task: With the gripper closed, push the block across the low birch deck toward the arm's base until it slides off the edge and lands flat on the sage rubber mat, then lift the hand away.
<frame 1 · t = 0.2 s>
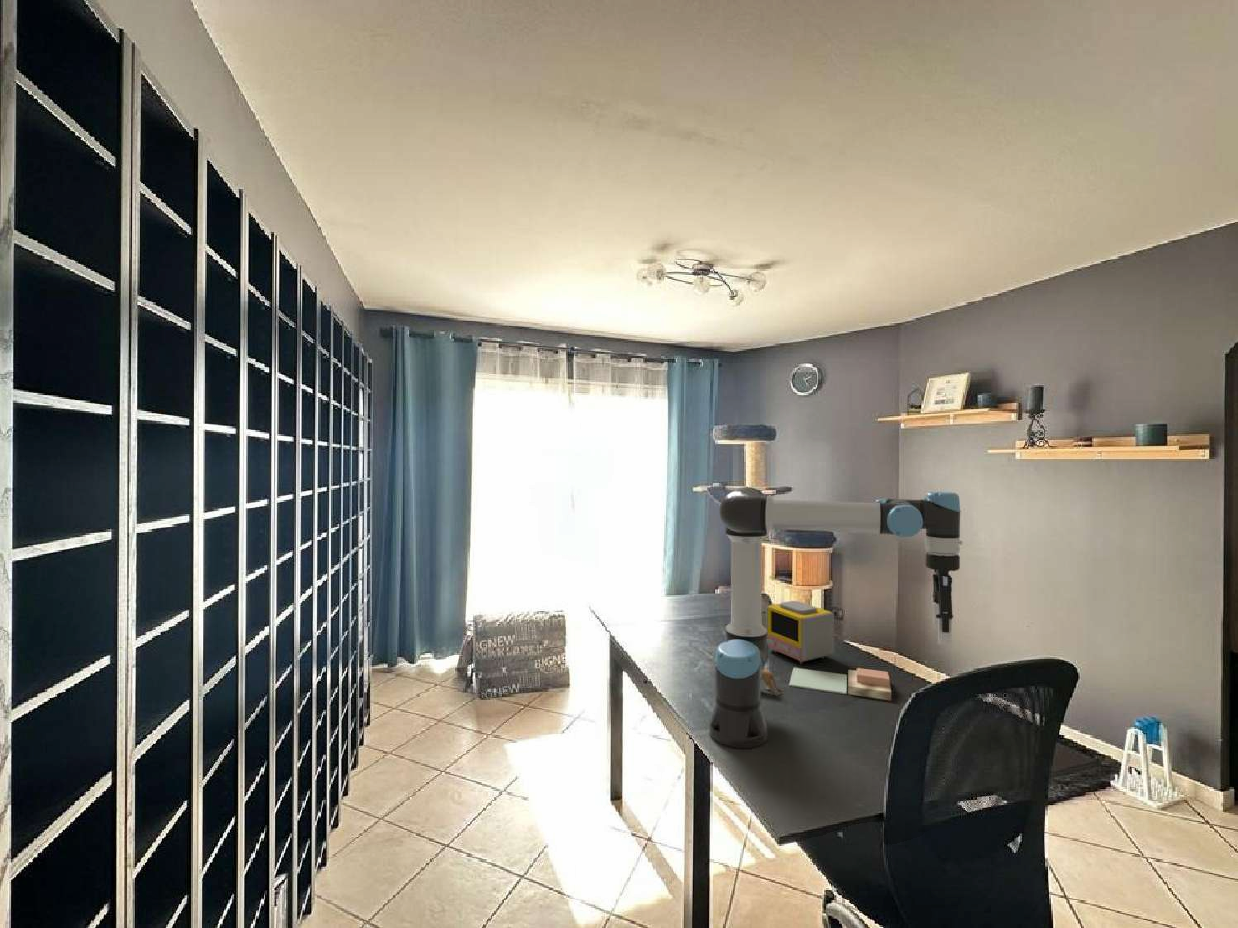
hand: (941, 636, 143), 28 cm above the table, tool pointing down, fingers open, 13 cm apart
mat: (818, 680, 184), on the table
deck: (868, 688, 178), on the table
alarm clock: (798, 655, 207), on the table
lion figurine: (756, 690, 177), on the table
block: (872, 680, 177), point 2 cm above the table, touching deck
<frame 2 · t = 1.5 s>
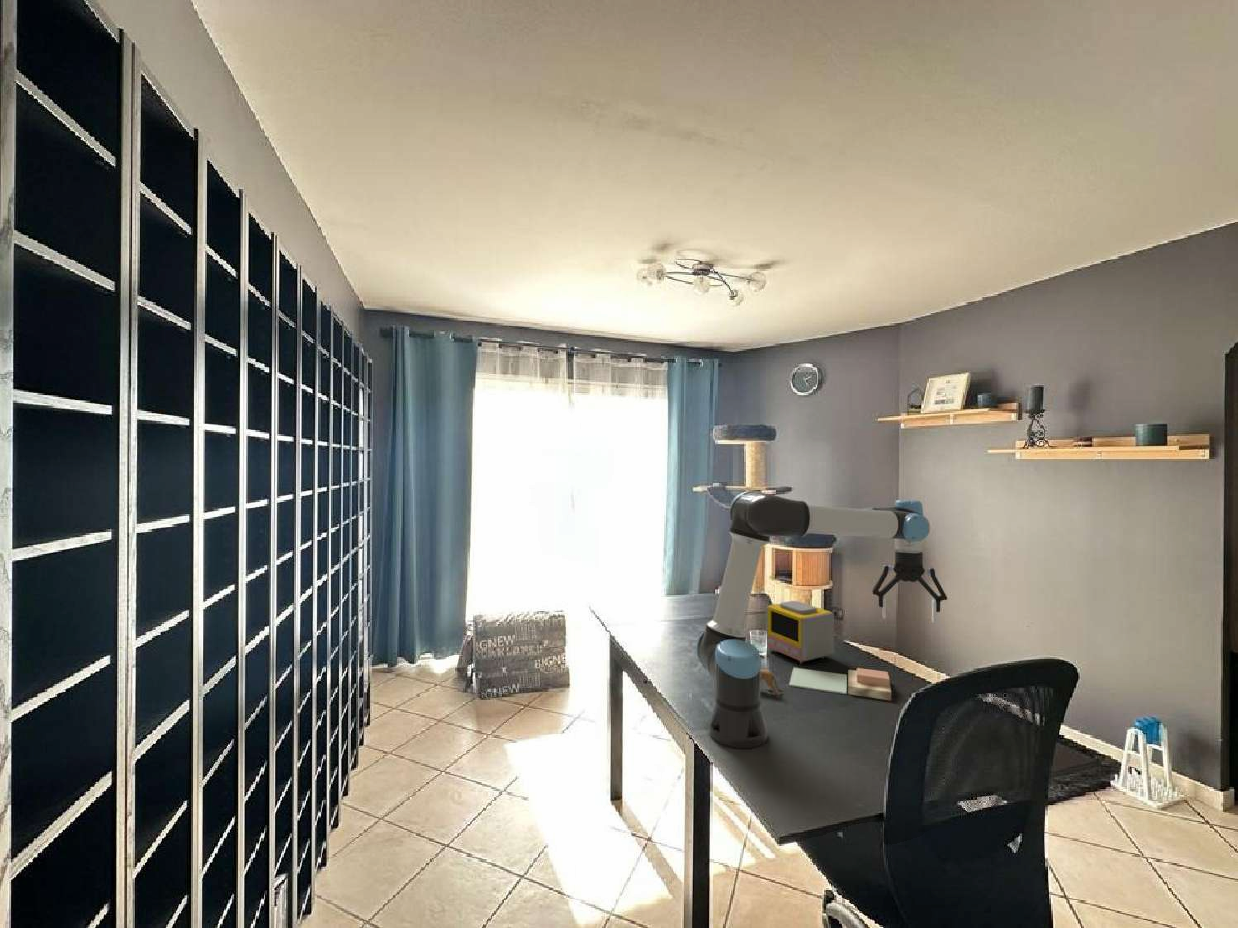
hand: (908, 619, 172), 23 cm above the table, tool pointing down, fingers open, 13 cm apart
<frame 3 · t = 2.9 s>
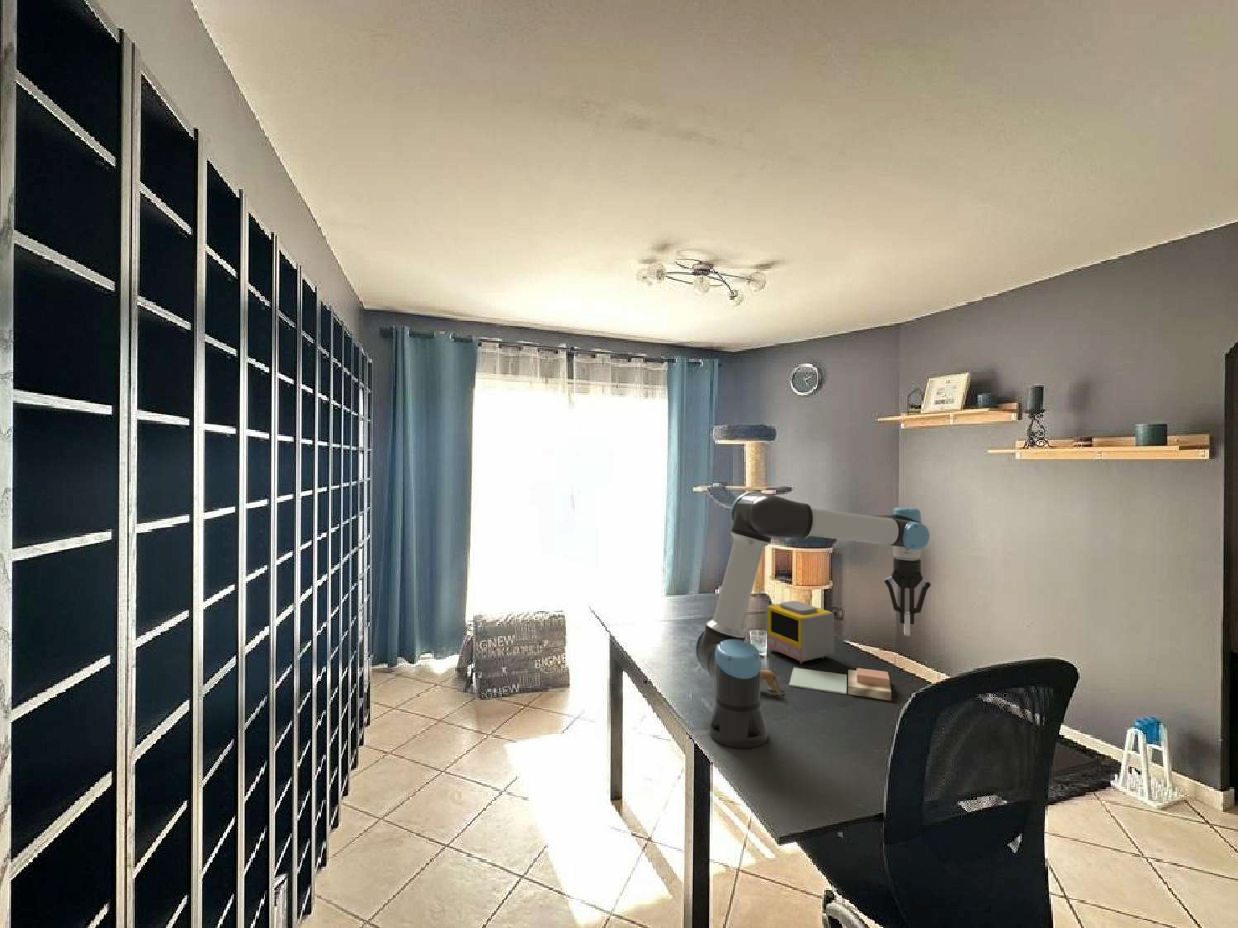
hand: (906, 633, 173), 19 cm above the table, tool pointing down, fingers closed
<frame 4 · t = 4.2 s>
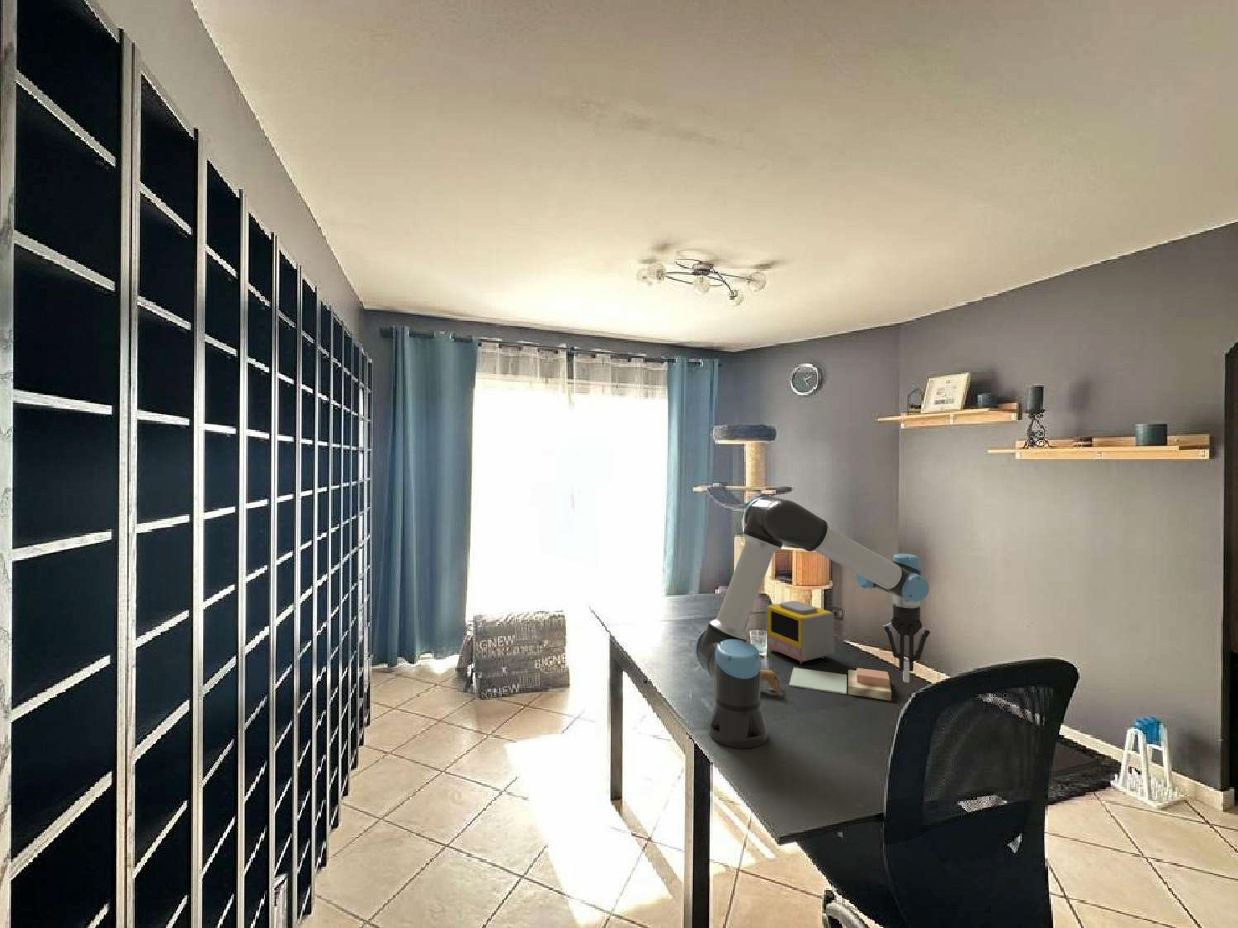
hand: (906, 680, 174), 4 cm above the table, tool pointing down, fingers closed
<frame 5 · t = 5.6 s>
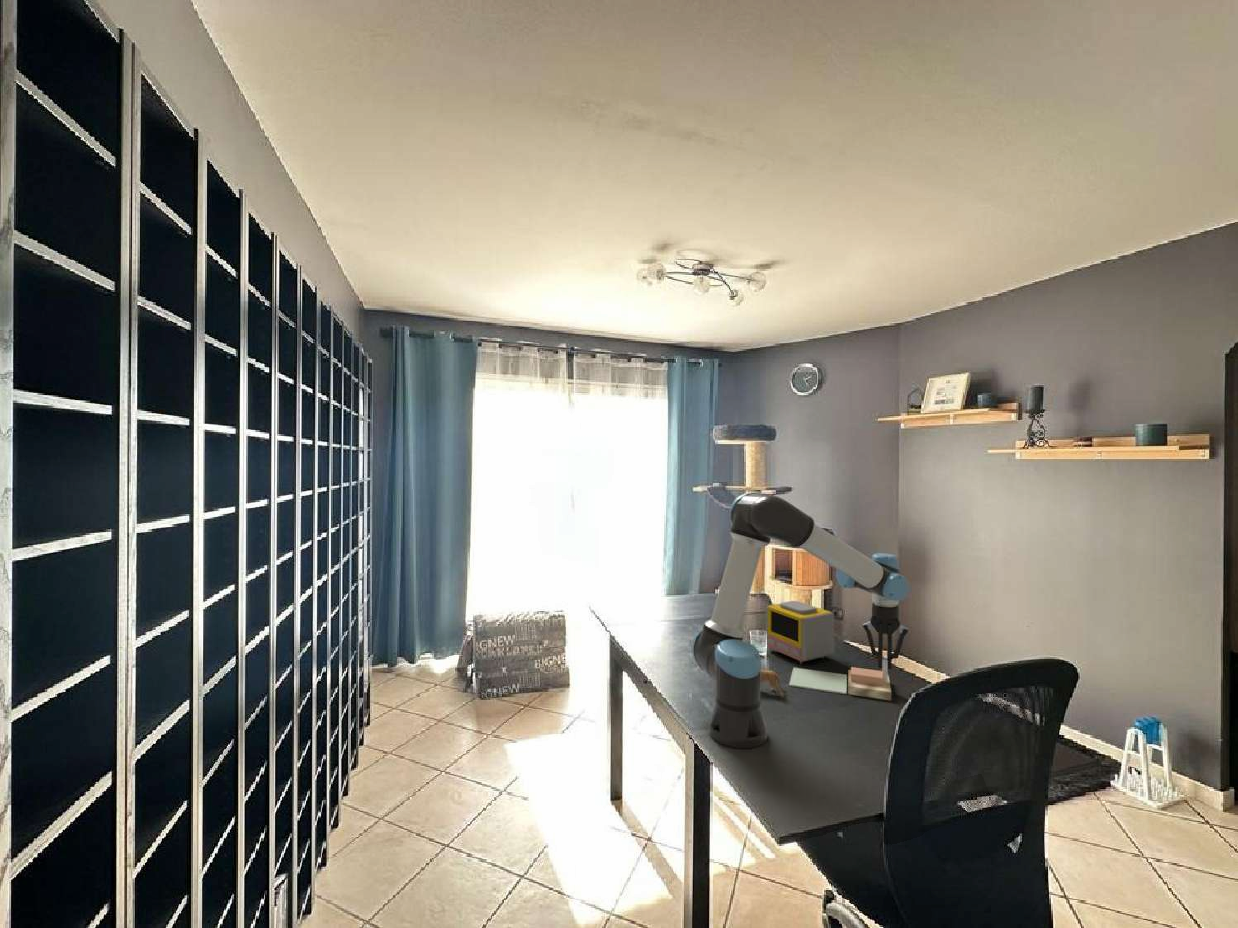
hand: (884, 678, 176), 4 cm above the table, tool pointing down, fingers closed
block: (866, 679, 178), point 2 cm above the table, touching deck, gripper
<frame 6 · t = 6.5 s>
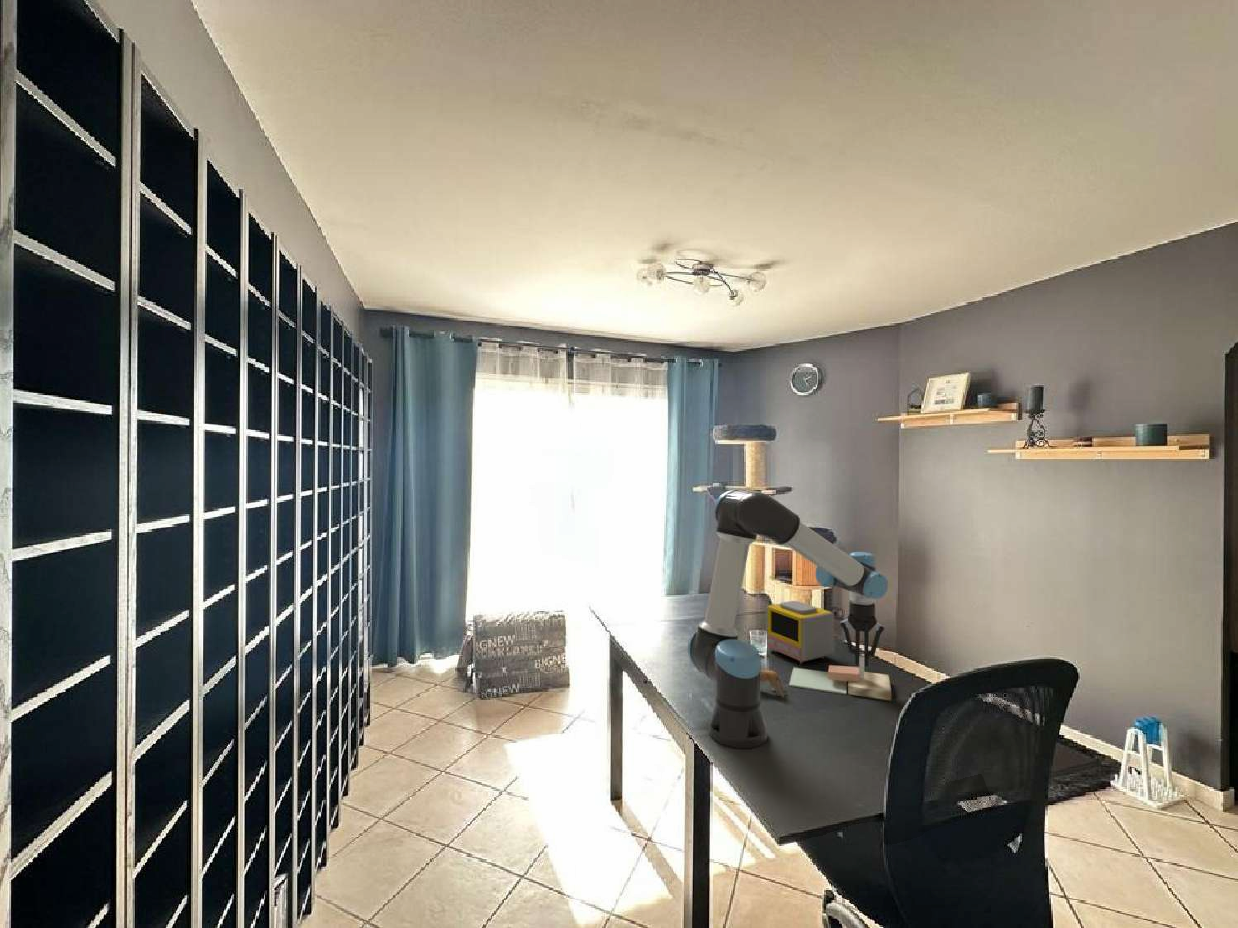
hand: (861, 675, 178), 4 cm above the table, tool pointing down, fingers closed
block: (844, 676, 181), point 2 cm above the table, touching gripper
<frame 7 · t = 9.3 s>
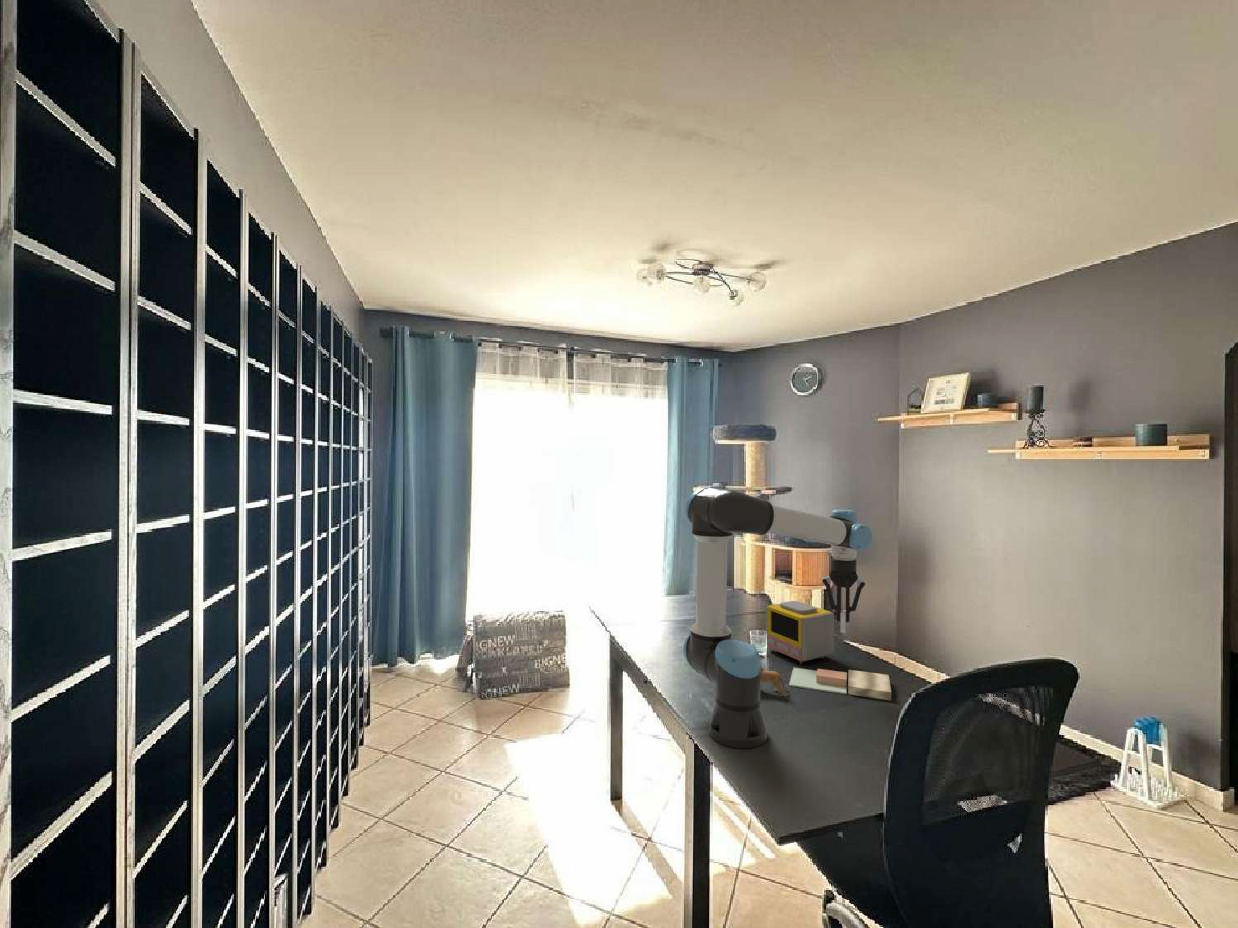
hand: (842, 631, 180), 17 cm above the table, tool pointing down, fingers closed
block: (831, 681, 182), resting on mat
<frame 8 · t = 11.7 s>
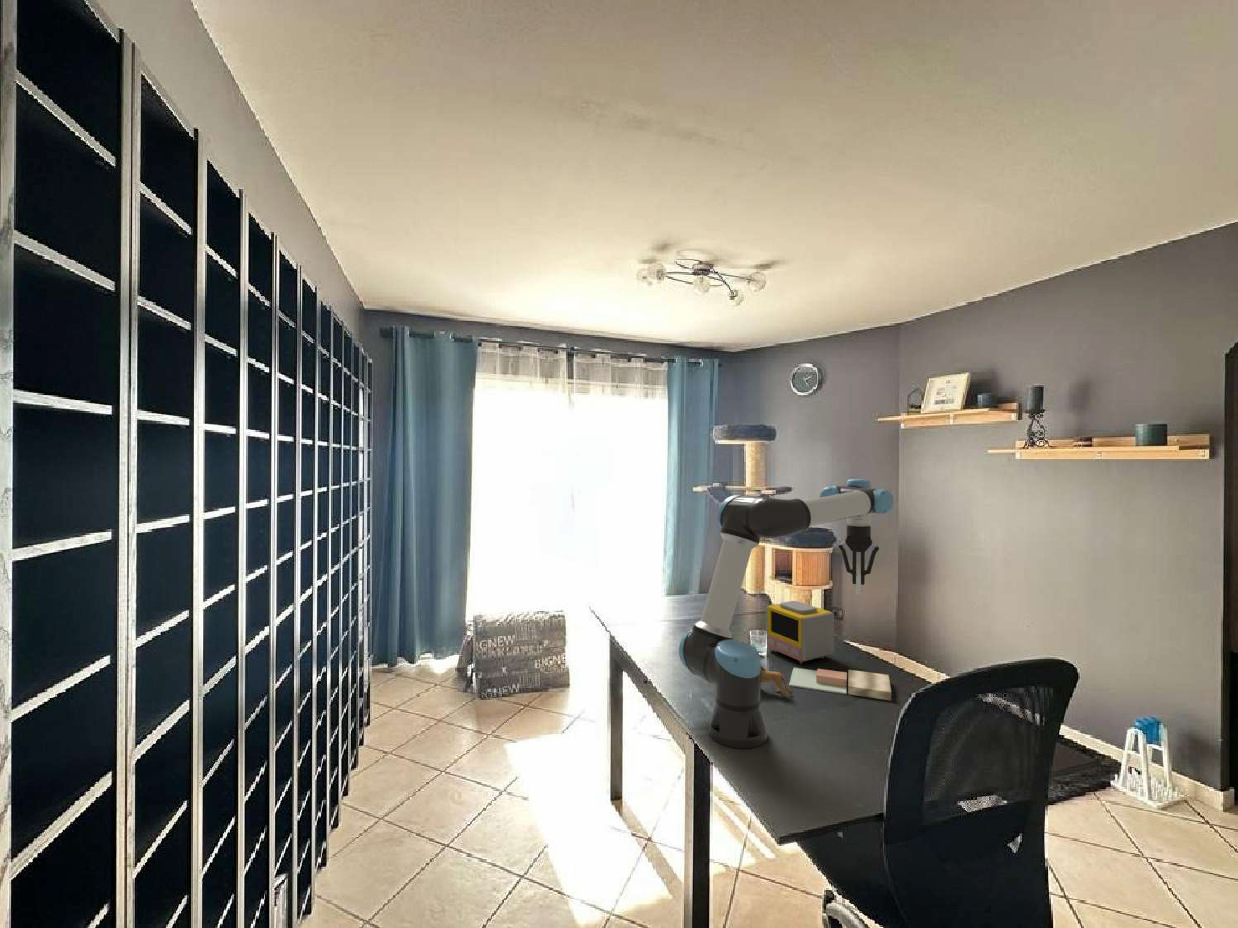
hand: (858, 593, 191), 26 cm above the table, tool pointing down, fingers closed
at the end: block inside the target area on the mat (4.0 cm from its centre), point 0.5 cm above the mat's base; block tilted 0° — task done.
